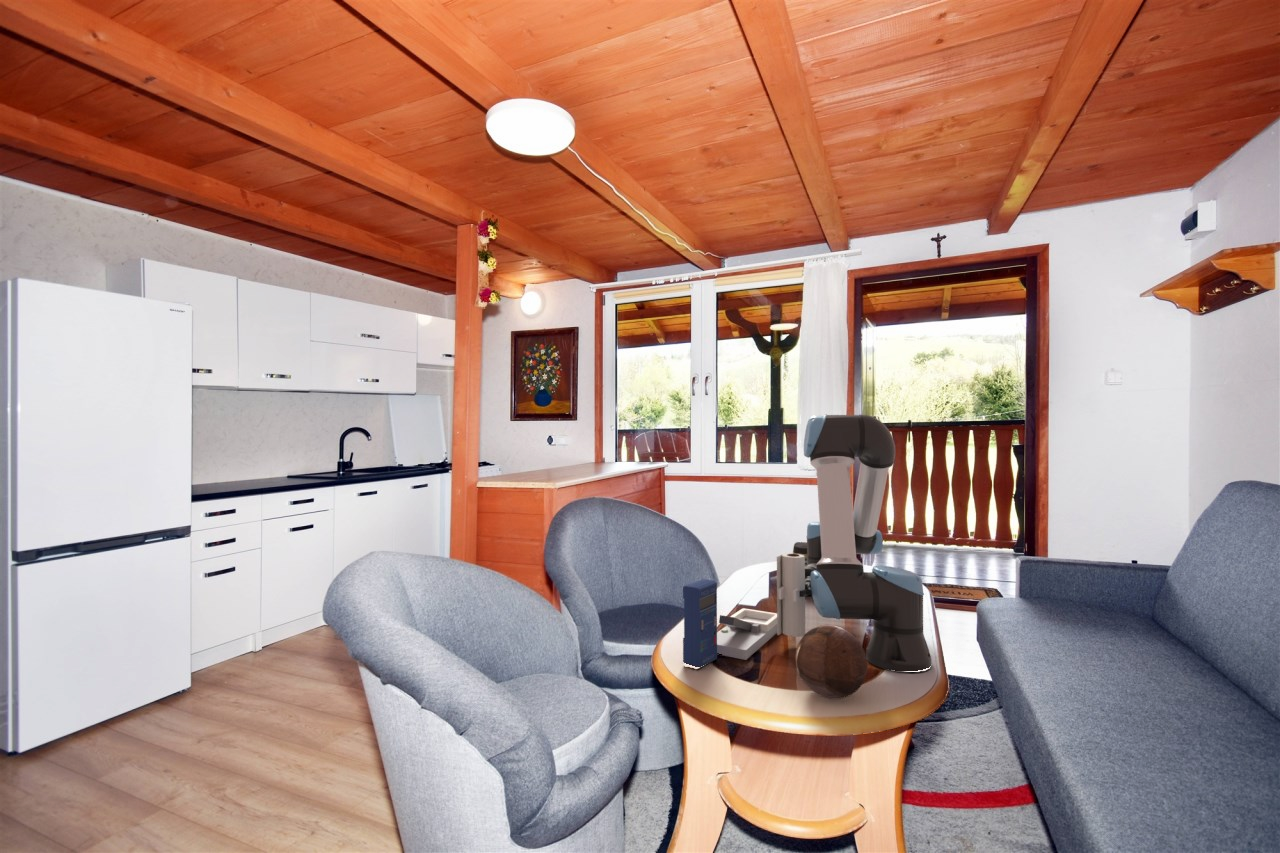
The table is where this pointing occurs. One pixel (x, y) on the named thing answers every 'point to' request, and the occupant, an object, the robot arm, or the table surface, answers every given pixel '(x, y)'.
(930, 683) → the table surface
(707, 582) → the electronic device
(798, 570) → the paper towel roll
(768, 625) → the board
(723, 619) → the breaker lever
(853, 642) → the wooden sphere
